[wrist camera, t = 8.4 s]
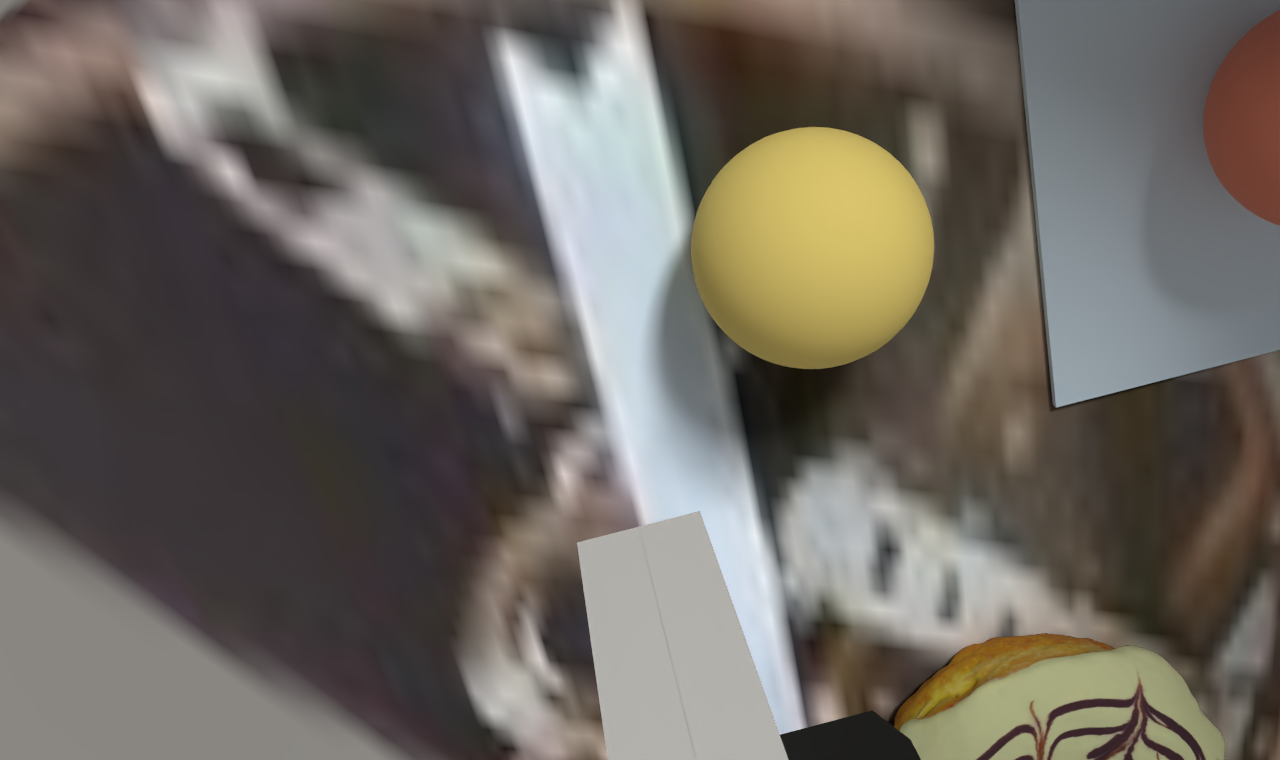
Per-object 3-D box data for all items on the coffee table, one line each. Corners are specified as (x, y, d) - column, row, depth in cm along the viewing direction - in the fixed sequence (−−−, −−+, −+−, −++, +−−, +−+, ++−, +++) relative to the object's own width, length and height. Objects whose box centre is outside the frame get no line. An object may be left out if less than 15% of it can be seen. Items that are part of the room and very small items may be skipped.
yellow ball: (638, 181, 25) (705, 119, 29) (688, 416, 27) (743, 322, 32) (904, 147, 23) (930, 86, 27) (935, 403, 25) (955, 306, 30)
